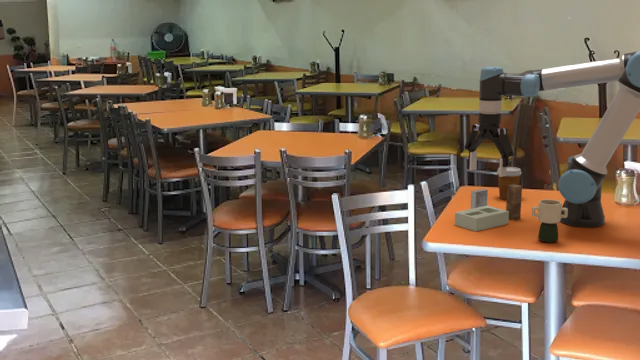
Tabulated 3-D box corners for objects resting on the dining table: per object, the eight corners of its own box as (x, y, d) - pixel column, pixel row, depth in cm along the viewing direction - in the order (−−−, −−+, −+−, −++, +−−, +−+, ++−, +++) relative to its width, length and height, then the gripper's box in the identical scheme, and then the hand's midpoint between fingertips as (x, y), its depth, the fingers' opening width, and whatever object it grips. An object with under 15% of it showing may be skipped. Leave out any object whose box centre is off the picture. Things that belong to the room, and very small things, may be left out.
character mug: (564, 238, 237) (567, 199, 234) (566, 245, 230) (569, 205, 228) (529, 236, 240) (532, 198, 237) (530, 243, 233) (533, 203, 230)
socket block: (508, 223, 255) (508, 211, 254) (475, 231, 246) (476, 218, 245) (486, 217, 263) (487, 205, 262) (454, 224, 254) (455, 212, 253)
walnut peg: (520, 218, 261) (522, 185, 259) (513, 220, 259) (515, 187, 257) (512, 216, 264) (514, 184, 262) (505, 217, 262) (507, 185, 260)
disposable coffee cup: (491, 199, 289) (493, 169, 286) (500, 194, 297) (502, 165, 294) (515, 202, 284) (516, 172, 281) (523, 197, 291) (525, 168, 289)
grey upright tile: (486, 213, 268) (487, 189, 266) (475, 216, 265) (476, 192, 263) (481, 212, 270) (482, 188, 268) (470, 214, 267) (471, 190, 265)
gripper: (526, 115, 243) (523, 177, 247) (470, 108, 263) (468, 166, 267) (511, 117, 238) (508, 180, 243) (455, 109, 258) (453, 168, 263)
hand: (487, 173), depth 255 cm, fingers open, 13 cm apart
